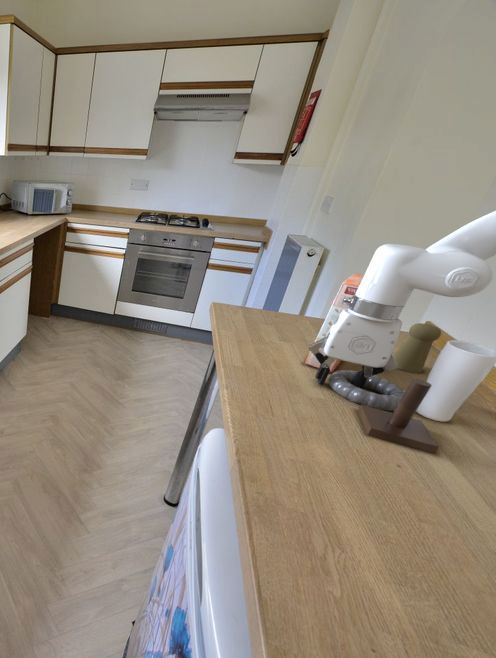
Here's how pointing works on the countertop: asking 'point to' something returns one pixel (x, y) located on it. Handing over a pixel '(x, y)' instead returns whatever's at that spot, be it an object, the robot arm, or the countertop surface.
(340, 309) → the cracker box
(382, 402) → the grey ridged ring
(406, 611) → the countertop surface
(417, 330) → the olive pawn shaped figure
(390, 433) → the post
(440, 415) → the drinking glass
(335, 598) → the countertop surface
